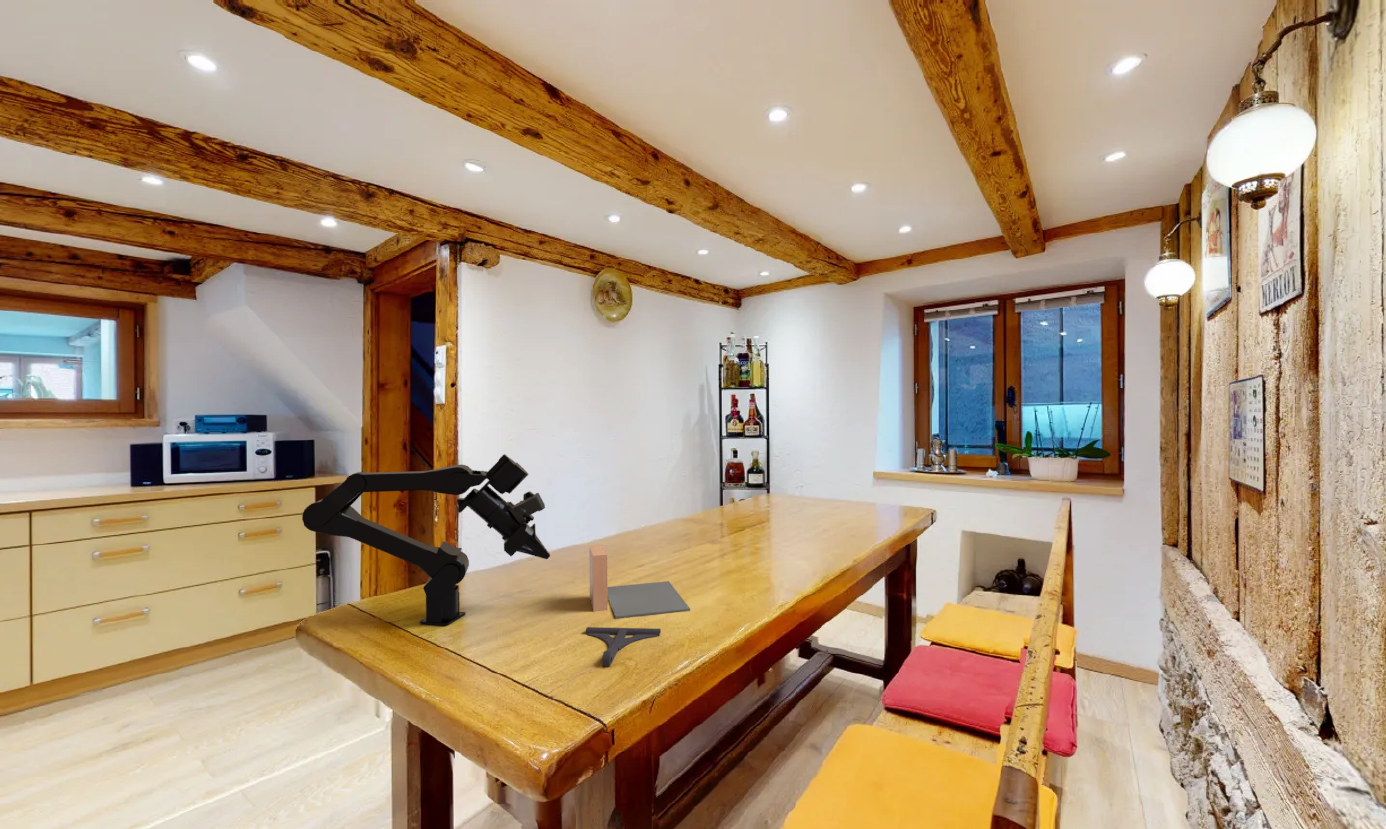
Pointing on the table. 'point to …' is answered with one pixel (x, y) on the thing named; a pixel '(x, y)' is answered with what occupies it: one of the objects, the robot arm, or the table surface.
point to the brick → (598, 578)
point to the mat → (645, 599)
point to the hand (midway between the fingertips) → (548, 557)
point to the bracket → (619, 639)
